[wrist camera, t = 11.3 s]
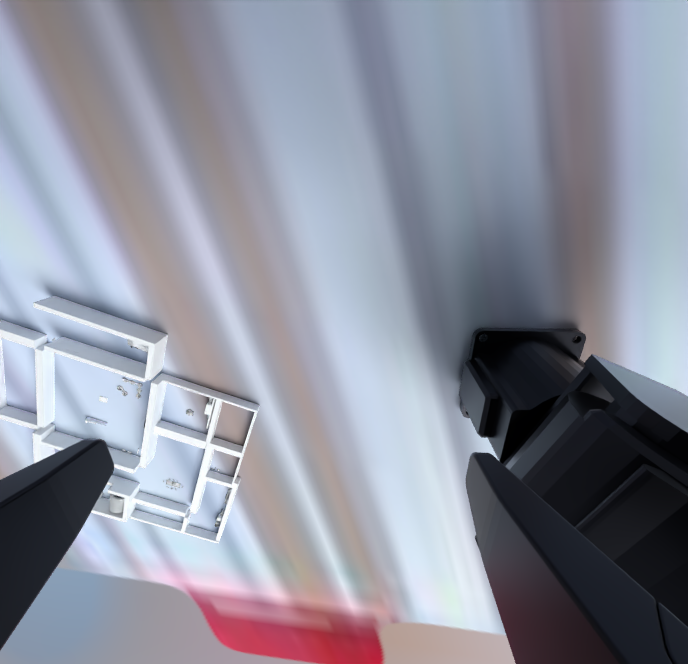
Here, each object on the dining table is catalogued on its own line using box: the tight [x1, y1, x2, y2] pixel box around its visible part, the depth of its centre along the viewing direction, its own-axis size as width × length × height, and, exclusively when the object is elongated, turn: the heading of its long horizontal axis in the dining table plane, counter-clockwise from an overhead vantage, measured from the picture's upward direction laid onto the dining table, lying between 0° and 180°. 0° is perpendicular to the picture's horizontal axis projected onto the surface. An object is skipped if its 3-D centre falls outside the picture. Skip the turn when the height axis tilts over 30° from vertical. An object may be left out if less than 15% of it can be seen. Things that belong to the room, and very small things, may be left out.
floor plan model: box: [0, 296, 260, 543], centre depth 24 cm, size 19×25×2 cm
